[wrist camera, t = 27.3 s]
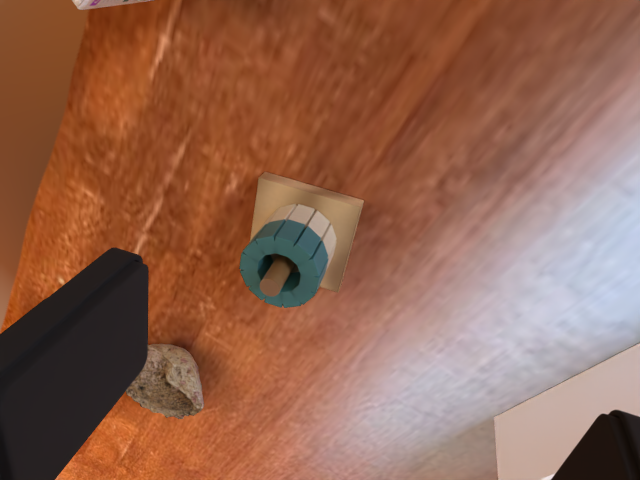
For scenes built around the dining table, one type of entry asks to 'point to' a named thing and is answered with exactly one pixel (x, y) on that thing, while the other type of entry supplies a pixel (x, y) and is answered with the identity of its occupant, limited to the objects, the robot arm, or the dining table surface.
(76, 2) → the syrup box
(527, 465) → the tissue box
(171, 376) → the grey rough lump
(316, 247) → the teal grooved ring
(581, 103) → the dining table surface
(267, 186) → the stand
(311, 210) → the ivory notched ring
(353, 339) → the dining table surface
